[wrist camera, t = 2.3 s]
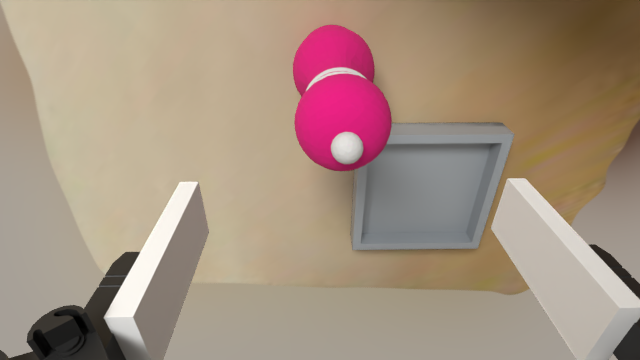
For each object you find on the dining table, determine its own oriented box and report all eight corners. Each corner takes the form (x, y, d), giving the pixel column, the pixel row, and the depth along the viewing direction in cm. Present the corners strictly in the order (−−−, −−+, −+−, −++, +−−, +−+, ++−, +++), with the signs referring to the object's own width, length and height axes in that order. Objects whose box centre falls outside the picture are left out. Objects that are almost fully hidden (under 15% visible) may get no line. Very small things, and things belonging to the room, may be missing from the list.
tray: (357, 123, 40) (360, 135, 37) (501, 122, 40) (514, 134, 37) (350, 234, 48) (352, 249, 46) (469, 232, 49) (477, 248, 46)
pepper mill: (321, 106, 39) (329, 229, 22) (280, 48, 35) (251, 140, 18) (380, 67, 36) (439, 170, 20) (342, 2, 33) (373, 58, 16)
